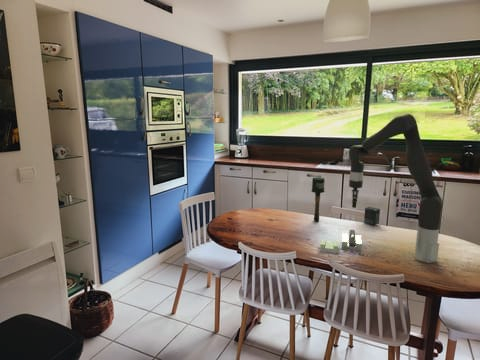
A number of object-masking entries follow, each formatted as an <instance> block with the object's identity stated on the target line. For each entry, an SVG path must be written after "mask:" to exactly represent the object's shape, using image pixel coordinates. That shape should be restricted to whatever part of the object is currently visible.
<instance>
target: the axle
mask: <svg viewBox="0 0 480 360" xmlns="http://www.w3.org/2000/svg"><path fill="white" fill-rule="evenodd" d="M355 235H356V231H355V229H350V230H349V232H348V238H349V245H350V246H352V247H353V246H355Z"/></svg>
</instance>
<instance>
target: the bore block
mask: <svg viewBox="0 0 480 360" xmlns="http://www.w3.org/2000/svg"><path fill="white" fill-rule="evenodd" d="M341 241H342V242H341V249H342V250H348V251H357V252H362V245H363V243H362V235H359V234H358V235H356V234H355V246H353V247H352V246H350V245H349V233H342V239H341Z"/></svg>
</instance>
